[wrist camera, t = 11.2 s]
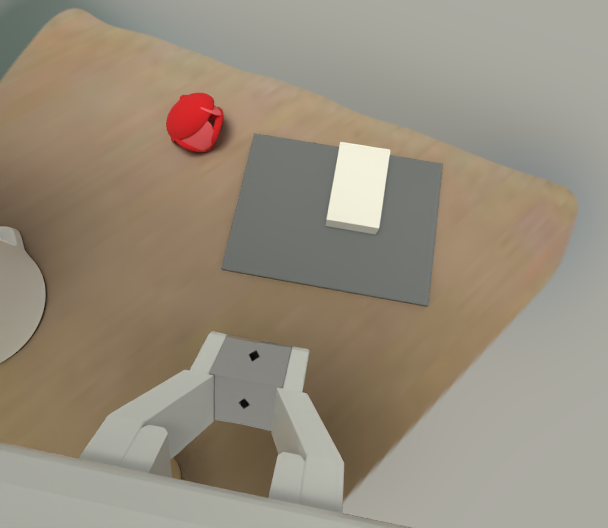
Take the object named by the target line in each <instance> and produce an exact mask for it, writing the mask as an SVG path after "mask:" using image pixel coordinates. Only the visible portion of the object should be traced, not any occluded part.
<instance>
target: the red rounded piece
mask: <svg viewBox="0 0 608 528" xmlns="http://www.w3.org/2000/svg"><path fill="white" fill-rule="evenodd" d="M208 119H210V120H215V123H214V127H212V125H211V124H210V123H209V121H207V120H208ZM222 123H223V111H222V109H221V108H219V107H216V106H215V105H214V100H213V98H212V97H211V96H209V95H208V94H205V93H193V94H190V95H182V96H181V97H180V100H179V101H178V102H177V103H176V104H175V105H174V106H173V107H172V109H171V110H170V112H169V114H168V117H167V122H166V127H167V131H168V133H169V135H170V136H171V140H172V142H174V141H176V142H177V143H178V144H179V145H180V146H181V147H183V148H185V149H187V150H190V151H195V152H207V151H208V150H211V149H212V148H213V145H214V144H215V142H216V140H217V138H218V136H219V133H220V130H221V127H222Z"/></svg>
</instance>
